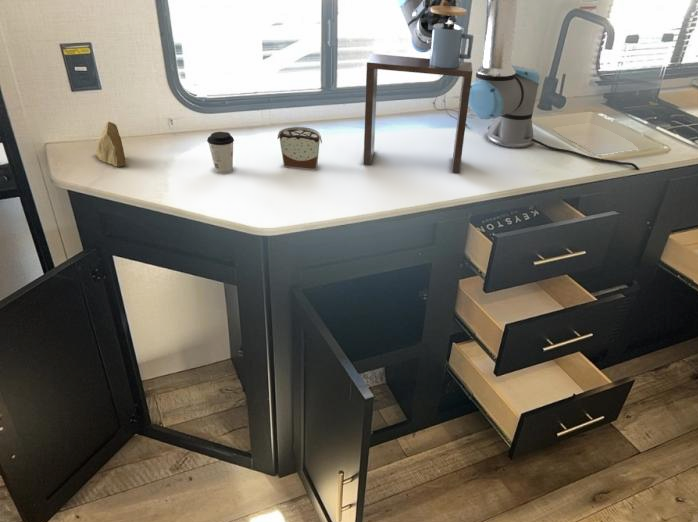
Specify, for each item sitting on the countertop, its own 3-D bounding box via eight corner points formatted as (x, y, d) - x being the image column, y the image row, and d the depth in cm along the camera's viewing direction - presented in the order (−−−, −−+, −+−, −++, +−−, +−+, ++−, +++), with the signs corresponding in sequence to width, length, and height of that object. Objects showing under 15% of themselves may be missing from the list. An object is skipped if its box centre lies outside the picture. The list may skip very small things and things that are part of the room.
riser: (459, 160, 183) (471, 62, 166) (459, 173, 174) (472, 71, 158) (367, 151, 183) (371, 53, 167) (363, 164, 175) (366, 62, 159)
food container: (326, 162, 174) (325, 128, 169) (321, 170, 169) (321, 136, 164) (284, 158, 175) (282, 124, 169) (278, 166, 170) (276, 131, 164)
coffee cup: (214, 176, 161) (209, 140, 156) (208, 167, 166) (203, 131, 161) (239, 173, 164) (236, 137, 159) (233, 163, 169) (229, 129, 164)
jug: (469, 63, 166) (474, 25, 160) (469, 70, 159) (474, 31, 154) (425, 59, 166) (429, 21, 160) (424, 66, 159) (427, 27, 154)
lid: (455, 3, 167) (456, -3, 166) (469, 16, 152) (469, 9, 151) (423, 1, 166) (423, -5, 165) (433, 14, 151) (433, 7, 150)
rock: (134, 159, 162) (135, 141, 169) (108, 136, 156) (110, 118, 163) (105, 182, 164) (107, 163, 171) (78, 160, 158) (81, 142, 165)
